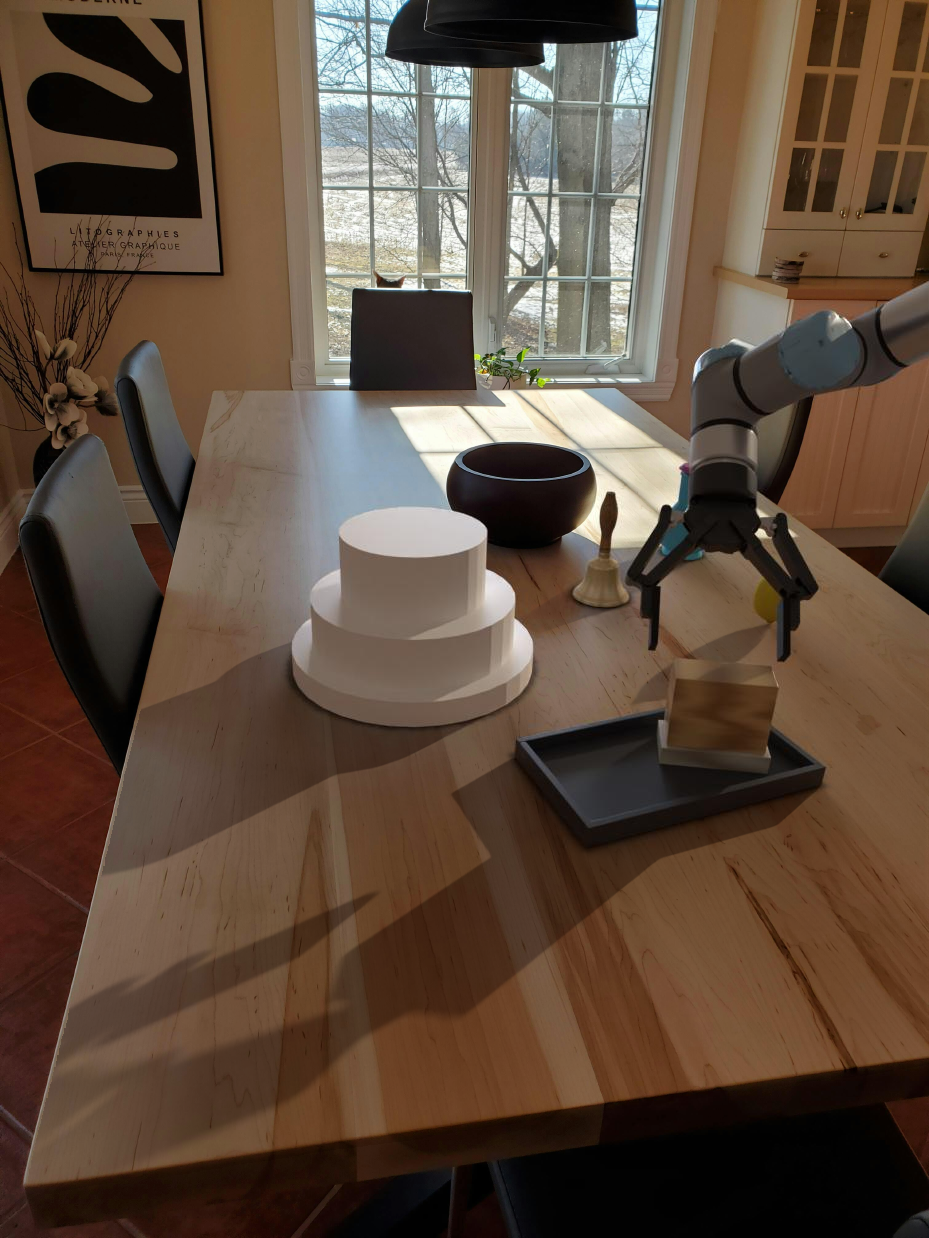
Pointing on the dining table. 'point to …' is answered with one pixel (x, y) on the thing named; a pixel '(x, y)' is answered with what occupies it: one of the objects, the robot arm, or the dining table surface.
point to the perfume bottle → (679, 531)
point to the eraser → (718, 716)
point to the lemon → (766, 601)
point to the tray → (647, 777)
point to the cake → (412, 624)
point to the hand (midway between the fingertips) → (717, 652)
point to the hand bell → (603, 565)
